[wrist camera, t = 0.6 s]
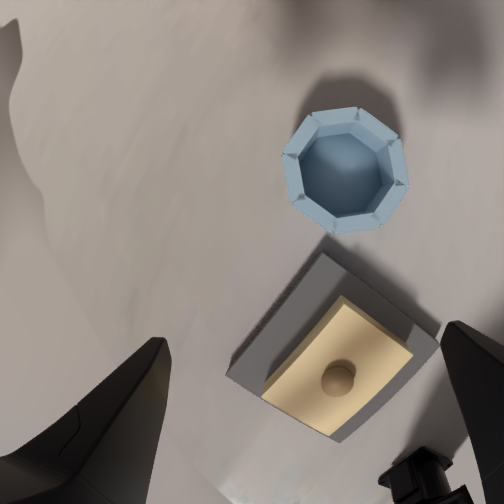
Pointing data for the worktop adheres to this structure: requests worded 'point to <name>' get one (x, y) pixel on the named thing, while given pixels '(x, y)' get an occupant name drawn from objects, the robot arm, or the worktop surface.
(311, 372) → the lid
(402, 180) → the bowl
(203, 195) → the worktop surface
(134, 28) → the worktop surface
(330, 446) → the worktop surface
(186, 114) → the worktop surface
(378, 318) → the mat
